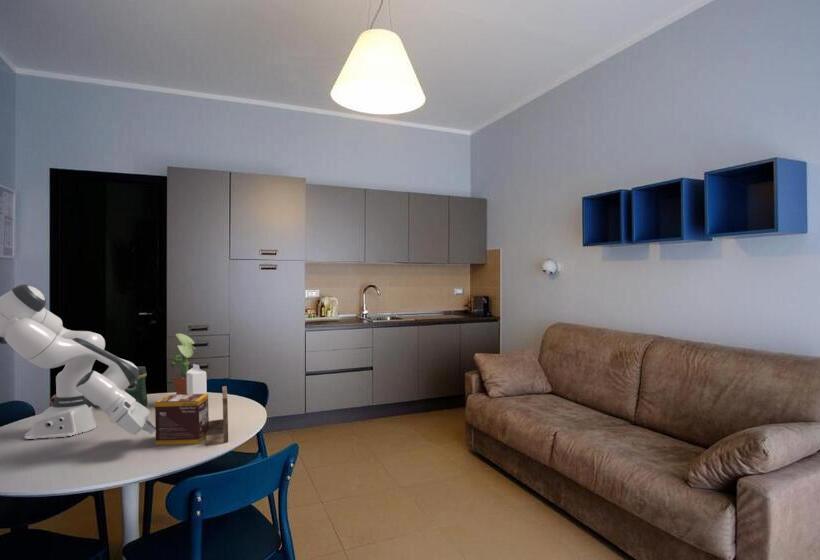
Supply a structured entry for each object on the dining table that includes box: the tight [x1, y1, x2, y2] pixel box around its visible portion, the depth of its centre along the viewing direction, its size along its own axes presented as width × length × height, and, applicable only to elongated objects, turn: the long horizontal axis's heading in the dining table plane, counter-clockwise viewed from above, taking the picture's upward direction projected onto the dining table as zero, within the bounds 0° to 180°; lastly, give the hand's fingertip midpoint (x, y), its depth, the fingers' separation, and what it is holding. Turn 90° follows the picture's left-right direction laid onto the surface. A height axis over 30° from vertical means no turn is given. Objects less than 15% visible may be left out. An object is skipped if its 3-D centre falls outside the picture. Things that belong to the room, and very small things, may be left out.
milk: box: [186, 363, 208, 394], centre depth 203 cm, size 6×6×22 cm
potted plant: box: [170, 332, 196, 395], centre depth 220 cm, size 16×15×35 cm
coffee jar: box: [124, 365, 148, 407], centre depth 218 cm, size 10×8×19 cm
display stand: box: [205, 385, 229, 446], centre depth 180 cm, size 7×19×16 cm, turn 22°
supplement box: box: [154, 393, 210, 446], centre depth 175 cm, size 10×15×16 cm
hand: (154, 431), depth 171 cm, fingers closed
